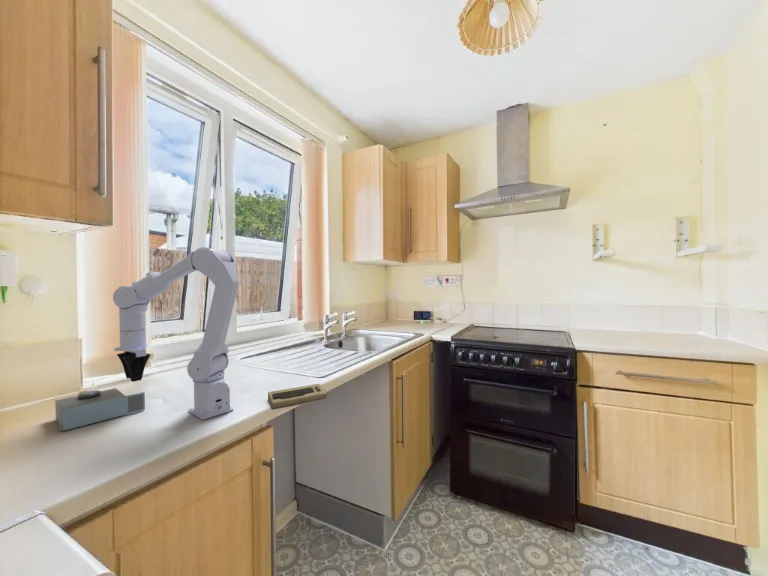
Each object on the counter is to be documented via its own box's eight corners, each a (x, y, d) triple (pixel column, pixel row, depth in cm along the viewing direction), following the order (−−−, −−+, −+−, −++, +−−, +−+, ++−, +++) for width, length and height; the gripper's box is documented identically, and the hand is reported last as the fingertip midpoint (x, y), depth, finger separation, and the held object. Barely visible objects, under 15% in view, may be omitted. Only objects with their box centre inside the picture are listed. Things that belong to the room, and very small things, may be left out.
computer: (272, 410, 87) (272, 398, 87) (267, 401, 94) (267, 390, 94) (327, 400, 95) (327, 389, 95) (319, 392, 102) (318, 382, 102)
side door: (59, 431, 74) (58, 411, 74) (58, 430, 74) (58, 410, 74) (145, 409, 86) (144, 392, 86) (143, 408, 87) (143, 391, 87)
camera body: (125, 414, 84) (125, 392, 84) (61, 431, 75) (60, 406, 75) (116, 405, 90) (115, 384, 90) (55, 419, 81) (55, 396, 81)
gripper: (107, 329, 88) (108, 377, 89) (121, 334, 79) (122, 388, 80) (138, 326, 94) (139, 372, 94) (154, 331, 85) (155, 381, 85)
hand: (134, 379), depth 87 cm, fingers open, 4 cm apart
